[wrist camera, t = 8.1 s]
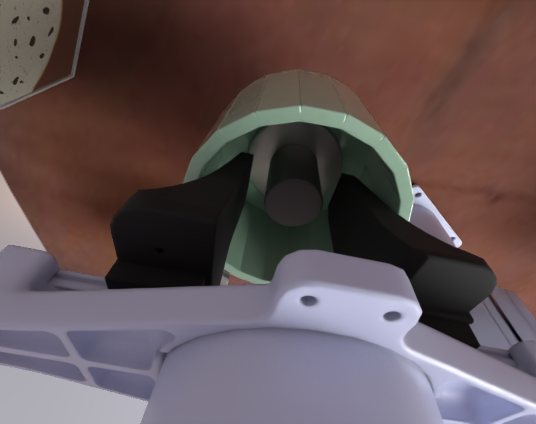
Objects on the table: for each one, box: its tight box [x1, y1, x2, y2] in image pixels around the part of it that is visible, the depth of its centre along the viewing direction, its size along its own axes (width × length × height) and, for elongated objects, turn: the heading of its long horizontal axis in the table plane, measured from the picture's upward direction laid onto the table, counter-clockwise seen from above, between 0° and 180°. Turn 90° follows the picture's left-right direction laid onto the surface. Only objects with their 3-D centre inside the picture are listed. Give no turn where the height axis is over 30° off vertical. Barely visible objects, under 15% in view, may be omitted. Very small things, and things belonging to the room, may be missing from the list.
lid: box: [247, 121, 342, 226], centre depth 13 cm, size 5×5×4 cm
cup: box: [182, 70, 414, 284], centre depth 13 cm, size 9×9×6 cm
